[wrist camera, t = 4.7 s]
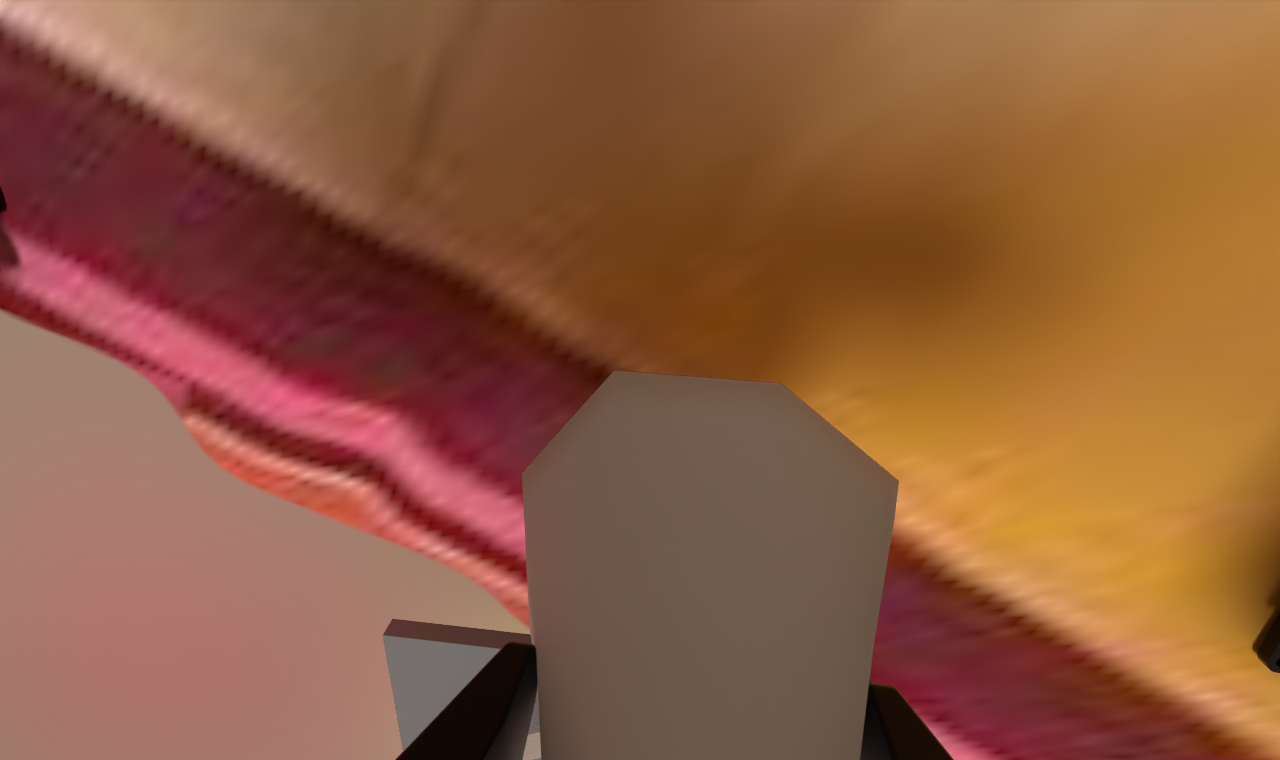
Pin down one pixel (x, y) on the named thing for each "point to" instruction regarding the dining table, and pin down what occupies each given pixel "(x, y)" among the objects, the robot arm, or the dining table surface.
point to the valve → (2, 201)
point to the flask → (703, 575)
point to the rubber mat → (435, 667)
